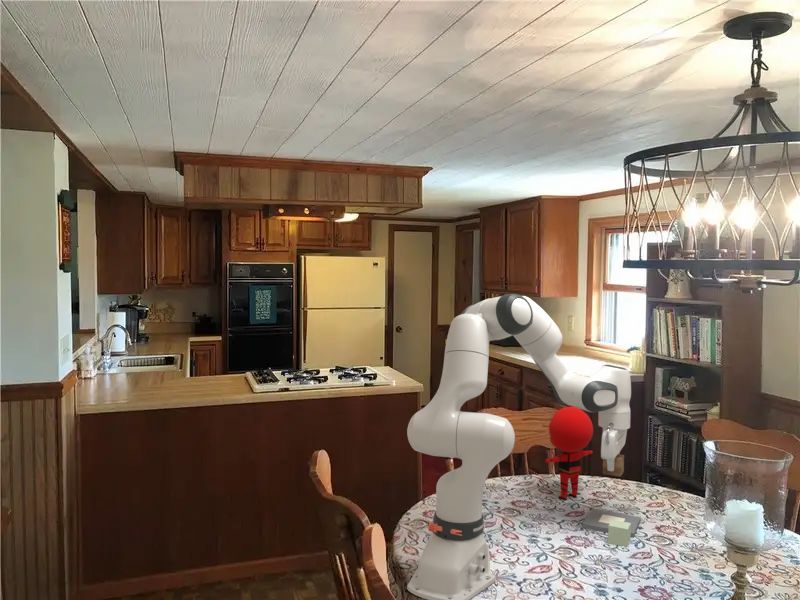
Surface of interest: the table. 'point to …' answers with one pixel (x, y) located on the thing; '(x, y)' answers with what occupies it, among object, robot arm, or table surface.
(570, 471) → the toy
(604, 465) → the walnut block
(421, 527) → the table surface
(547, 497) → the table surface
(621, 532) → the sage block
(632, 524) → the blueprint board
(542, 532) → the table surface
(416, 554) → the table surface
